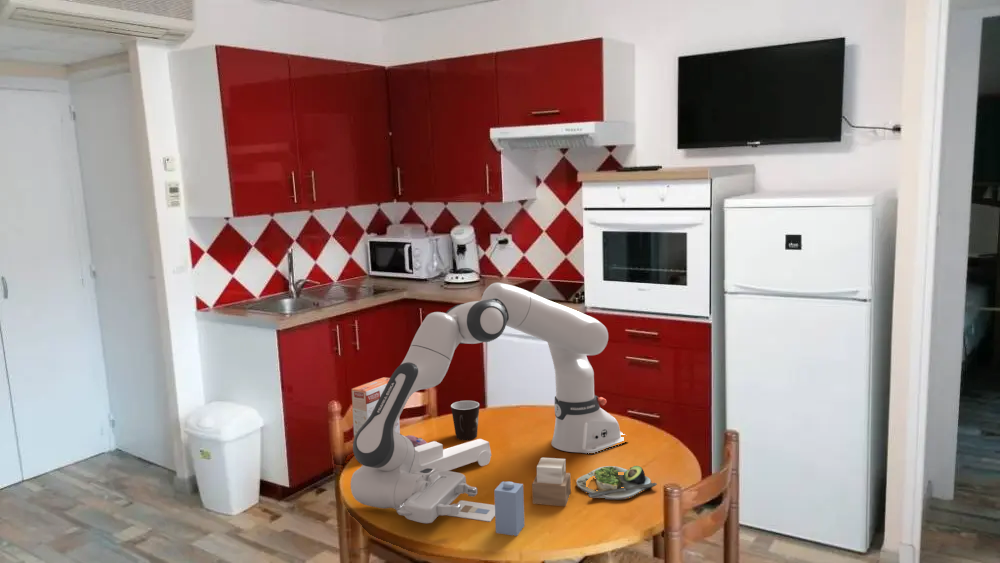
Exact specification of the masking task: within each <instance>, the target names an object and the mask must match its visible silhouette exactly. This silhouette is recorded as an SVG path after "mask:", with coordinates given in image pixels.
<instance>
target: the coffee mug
mask: <svg viewBox="0 0 1000 563" xmlns="http://www.w3.org/2000/svg"><path fill="white" fill-rule="evenodd" d="M450 408H451V415H452V421H453V427H454V433H455V438H456V439H457V440H458V439H459V441H473V440H476V438H477V437H478V430H479V429H478V427H479V416H480V415H479V414H480V403H479V402H478V401H475V400H460V401H455V402H453V403H452V404H451V405H450Z"/></svg>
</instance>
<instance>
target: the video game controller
mask: <svg viewBox="0 0 1000 563" xmlns="http://www.w3.org/2000/svg"><path fill="white" fill-rule="evenodd" d="M404 436H405V437H407V438H408V439H410V440H411V442H412V443H413V445H414V447H417V446H420V445H423V444H427V443H428V442H427V441H426V440H425V439H423V438H422V437H417V436H414V435H404Z"/></svg>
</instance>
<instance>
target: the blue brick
mask: <svg viewBox="0 0 1000 563" xmlns="http://www.w3.org/2000/svg"><path fill="white" fill-rule="evenodd" d="M493 491H494V492H493V493H494V505H495V533H496V534H501V535H502V534H503V535H508V536H513V535H514V537H518V535H519V534H520V533H521V531H522V530H523V529H522V528H524V527H525V502H524V501H525V499H524V498H525V497H524V483H517V482H513V481H501V482H500V483H499V485H497V486H496V488H495V489H494V490H493Z"/></svg>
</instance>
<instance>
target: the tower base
mask: <svg viewBox="0 0 1000 563" xmlns="http://www.w3.org/2000/svg"><path fill="white" fill-rule="evenodd" d="M566 460H567V459H566V458H558V457H557V458H555V457H541V458H540V459H539V462H538V464H537V465H536V476H535V477H534V479H533V482H532V483H531V484H532V485H531V486H532V487H531V488H532V504H533V505H545V506H546V505H547V506H559V507H566V506H567V503H568V501H569V499H568V498H570V496H569V495H571V494H572V482H571V472H567V470H566V467H567V466H566Z"/></svg>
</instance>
